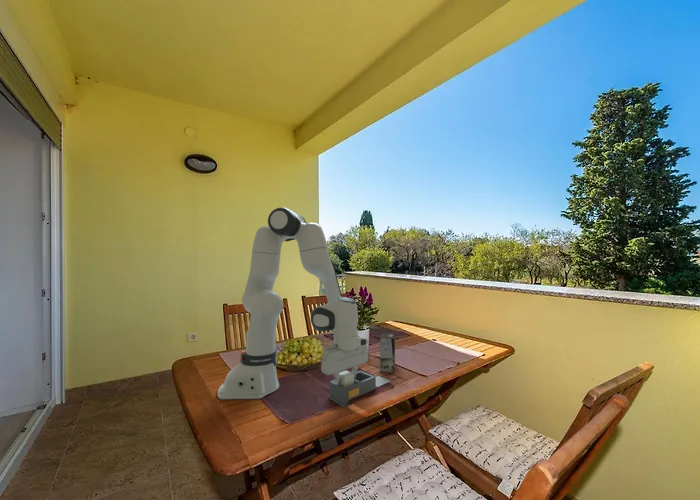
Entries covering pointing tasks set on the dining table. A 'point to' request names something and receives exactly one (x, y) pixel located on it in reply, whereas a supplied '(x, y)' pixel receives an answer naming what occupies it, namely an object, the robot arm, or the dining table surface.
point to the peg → (346, 378)
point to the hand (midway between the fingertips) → (345, 380)
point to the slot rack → (354, 388)
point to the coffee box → (387, 352)
